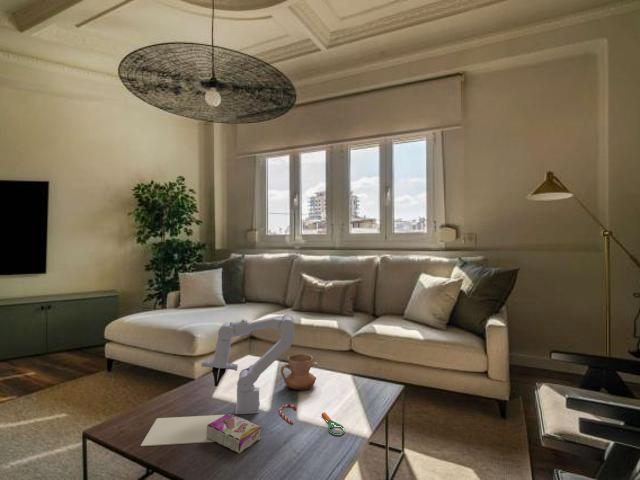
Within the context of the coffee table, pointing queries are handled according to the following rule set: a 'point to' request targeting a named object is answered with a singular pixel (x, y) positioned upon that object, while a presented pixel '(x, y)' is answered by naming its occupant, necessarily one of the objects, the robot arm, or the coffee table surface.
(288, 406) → the candy cane
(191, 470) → the coffee table surface
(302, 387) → the ceramic jug
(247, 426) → the candy bar box
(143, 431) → the coffee table surface
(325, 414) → the magnifying glass
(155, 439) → the mat
